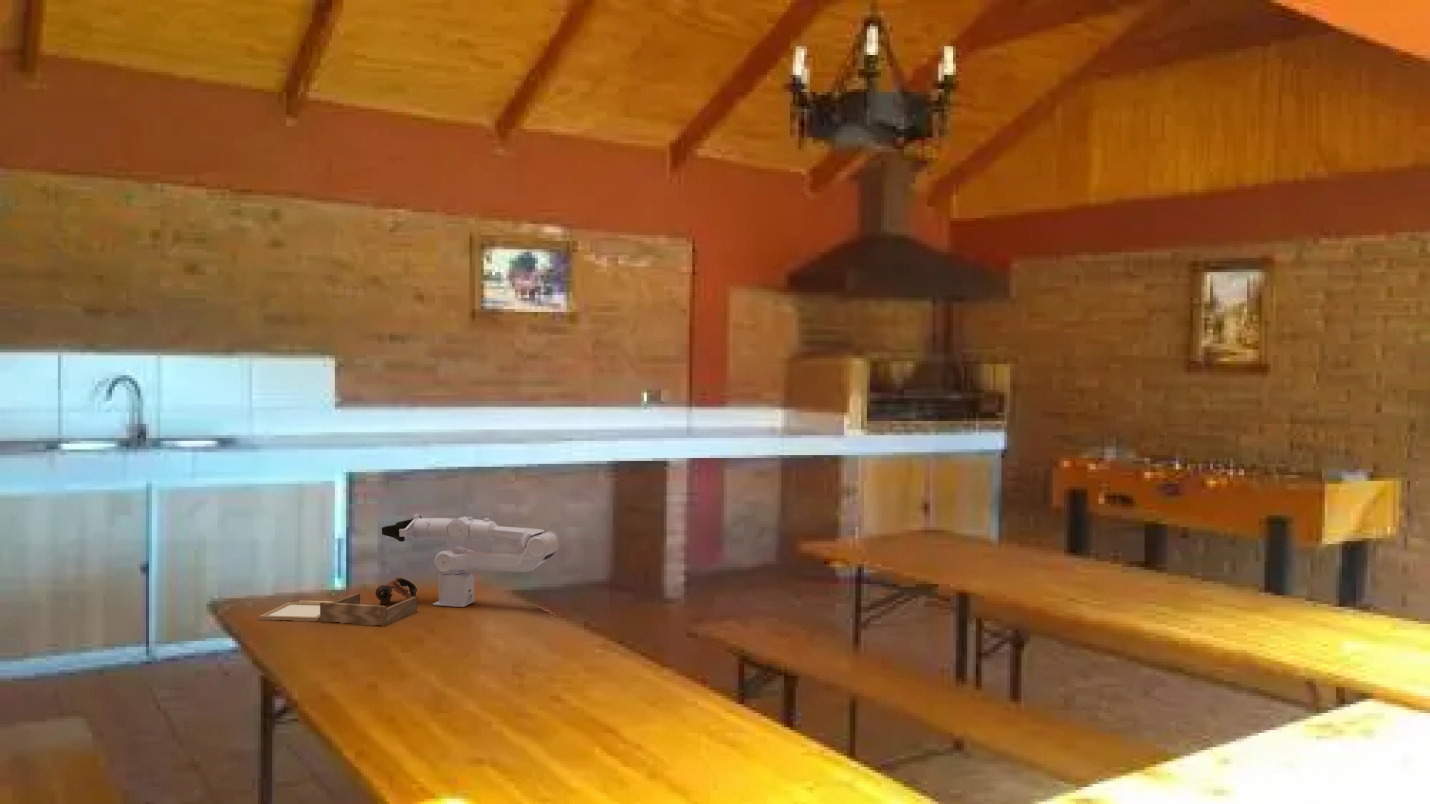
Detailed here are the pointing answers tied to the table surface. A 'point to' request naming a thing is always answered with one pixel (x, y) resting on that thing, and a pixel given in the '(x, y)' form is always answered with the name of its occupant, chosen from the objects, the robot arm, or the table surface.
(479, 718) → the table surface
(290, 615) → the lid
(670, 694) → the table surface
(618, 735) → the table surface
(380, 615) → the wooden tray
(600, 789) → the table surface
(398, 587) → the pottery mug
